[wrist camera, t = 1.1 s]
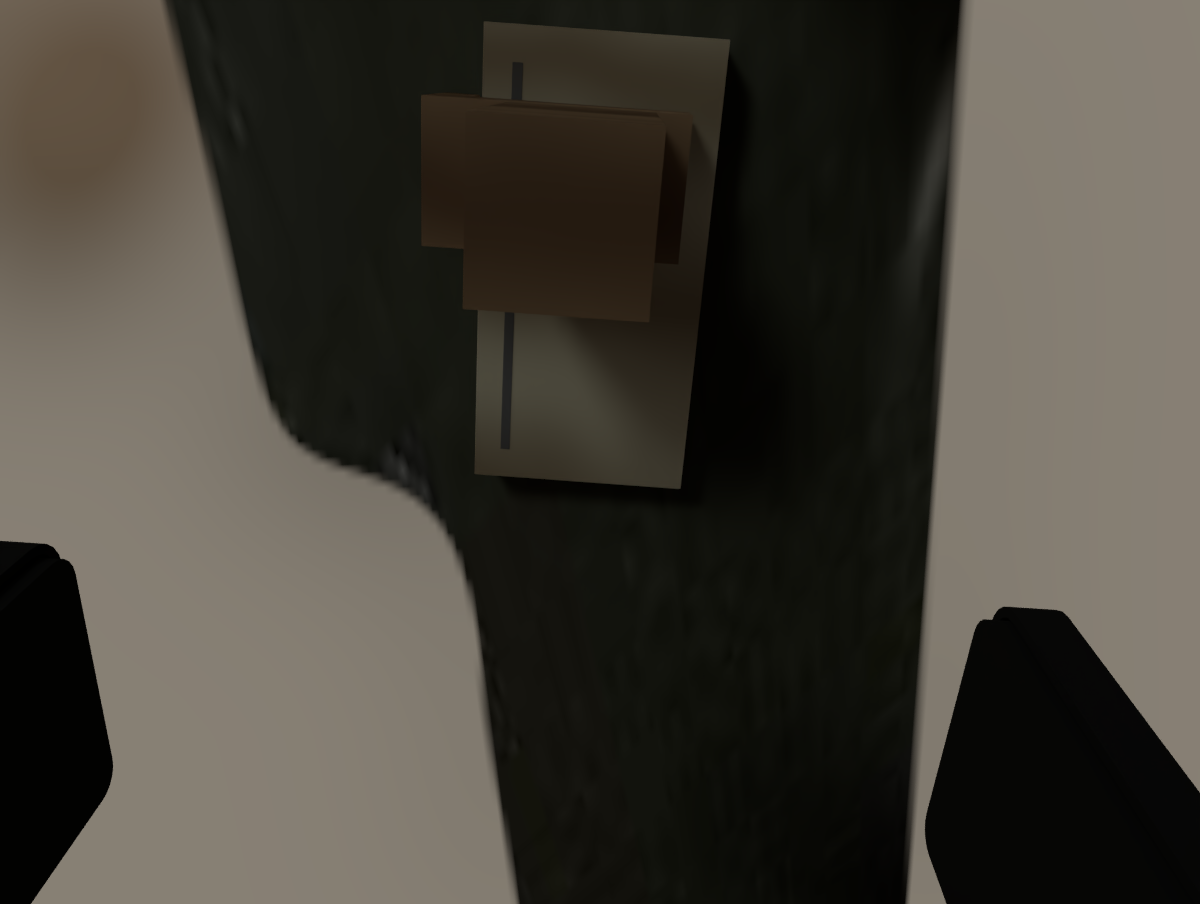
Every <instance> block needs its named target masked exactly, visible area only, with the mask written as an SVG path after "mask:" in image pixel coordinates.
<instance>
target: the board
mask: <svg viewBox="0 0 1200 904" xmlns="http://www.w3.org/2000/svg"><path fill="white" fill-rule="evenodd" d="M729 46H730V40H726V39H713V38H700V37H686V36H673V35H659V34H646V33H632V32H619V31H605V30H592V29H578V28H565V27H552V26H538V25H525V24H511V23H498V22H484V41H483V90H482V97H486V98H500V99H513V100H527V101H540V102H554V103H567V104H581V105H594V106H608V107H621V108H635V109H648V110H662V111H675V112H689V113H690V114H692V115H693V122H692V132H691V142H690V152H689V162H688V172H687V182H686V192H685V202H684V212H683V222H682V232H681V242H680V252H679V262H678V265H677V264H663V263H654V271H653V282H652V293H651V304H650V315H649V323H648V322H634V321H620V320H607V319H593V318H580V317H566V316H552V315H539V314H525V313H512V312H498V311H485V310H478V336H477V385H476V434H475V474H482V475H495V476H509V477H523V478H536V479H550V480H564V481H577V482H591V483H605V484H618V485H632V486H646V487H659V488H673V489H680V488H681V479H682V470H683V461H684V452H685V443H686V434H687V425H688V416H689V407H690V398H691V389H692V380H693V371H694V362H695V353H696V344H697V335H698V326H699V317H700V308H701V299H702V290H703V281H704V272H705V263H706V254H707V245H708V235H709V226H710V217H711V208H712V199H713V190H714V181H715V172H716V163H717V154H718V145H719V136H720V127H721V118H722V109H723V100H724V91H725V82H726V73H727V64H728V55H729Z"/></svg>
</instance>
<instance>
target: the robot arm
mask: <svg viewBox="0 0 1200 904" xmlns="http://www.w3.org/2000/svg"><path fill="white" fill-rule="evenodd" d="M112 772H113V761H112V754H111V749H110V745H109V739H108V735H107V729H106V724H105V720H104V715H103V709H102V704H101V699H100V695H99V689H98V684H97V679H96V674H95V669H94V664H93V659H92V655H91V649H90V645H89V639H88V634H87V629H86V624H85V619H84V614H83V609H82V604H81V599H80V594H79V589H78V584H77V579H76V574H75V571H74V568H73V566H72V565H71V563H70V562H69V561H67V560H65V559H60V557H59V554H58V553H57V552H56V550H55V549H54V548H53V547H52V546H49V545H48V544H38V543H24V542H8V541H0V904H31V903H32V901H33V900H34V899H35V897H36V896H37V894H38V893H39V891H40V890H41V888H42V887H43V885H44V884H45V883H46V881H47V880H48V878H49V877H50V875H51V874H52V872H53V871H54V870H55V868H56V867H57V865H58V864H59V862H60V861H61V860H62V858H63V857H64V855H65V854H66V852H67V851H68V849H69V848H70V847H71V845H72V844H73V842H74V841H75V839H76V838H77V836H78V835H79V834H80V832H81V831H82V829H83V828H84V826H85V825H86V823H87V822H88V821H89V819H90V818H91V816H92V815H93V813H94V812H95V810H96V809H97V808H98V806H99V805H100V803H101V802H102V800H103V798H104V797H105V795H106V793H107V791H108V788H109V786H110V782H111V778H112ZM925 837H926V845H927V850H928V853H929V856H930V859H931V862H932V865H933V867H934V870H935V873H936V876H937V878H938V881H939V884H940V887H941V889H942V892H943V895H944V898H945V900H946V903H947V904H1200V793H1199V791H1198V790H1197V788H1196V787H1195V786H1194V784H1193V783H1192V782H1191V780H1190V779H1189V778H1188V777H1187V775H1186V774H1185V772H1184V771H1183V770H1182V768H1181V767H1180V766H1179V764H1178V763H1177V762H1176V761H1175V759H1174V758H1173V756H1172V755H1171V754H1170V752H1169V751H1168V750H1167V749H1166V747H1165V746H1164V745H1163V743H1162V742H1161V740H1160V739H1159V738H1158V736H1157V735H1156V734H1155V732H1154V731H1153V730H1152V728H1151V727H1150V726H1149V725H1148V723H1147V722H1146V720H1145V719H1144V718H1143V716H1142V715H1141V714H1140V712H1139V711H1138V710H1137V708H1136V707H1135V706H1134V704H1133V703H1132V702H1131V700H1130V699H1129V698H1128V696H1127V695H1126V694H1125V692H1124V691H1123V690H1122V688H1121V687H1120V686H1119V684H1118V683H1117V682H1116V681H1115V679H1114V678H1113V676H1112V675H1111V674H1110V672H1109V671H1108V670H1107V668H1106V667H1105V666H1104V664H1103V663H1102V662H1101V660H1100V659H1099V658H1098V656H1097V655H1096V654H1095V652H1094V651H1093V650H1092V648H1091V647H1090V646H1089V644H1088V643H1087V642H1086V640H1085V639H1084V638H1083V636H1082V635H1081V634H1080V632H1079V631H1078V630H1077V628H1076V627H1075V626H1074V624H1073V623H1072V621H1071V620H1070V619H1069V618H1068V616H1066V615H1065V614H1064V613H1063V612H1062V611H1057V610H1048V609H1033V608H1017V607H1002V608H1000V609H999V610H998V611H997V612H996V614H995V615H994V617H993V620H982V621H980V622H979V623H978V625H977V627H976V629H975V632H974V635H973V639H972V643H971V646H970V650H969V654H968V658H967V662H966V665H965V669H964V673H963V677H962V681H961V685H960V688H959V693H958V696H957V700H956V704H955V707H954V711H953V715H952V719H951V723H950V726H949V730H948V734H947V738H946V742H945V745H944V749H943V753H942V757H941V761H940V765H939V768H938V772H937V776H936V780H935V784H934V787H933V791H932V795H931V799H930V803H929V806H928V810H927V815H926V820H925Z"/></svg>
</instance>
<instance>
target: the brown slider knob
mask: <svg viewBox="0 0 1200 904" xmlns="http://www.w3.org/2000/svg"><path fill="white" fill-rule="evenodd" d="M479 96H480V95H474V94H460V93H437V94H428V95H421V208H422V246H433V247H446V248H460V249H464V260H463V309H471V310H485V311H498V312H512V313H525V314H539V315H552V316H566V317H580V318H593V319H607V320H620V321H634V322H648V323H649V315H650V304H651V293H652V282H653V271H654V263H663V264H677V265H678V262H679V252H680V242H681V232H682V222H683V212H684V202H685V192H686V182H687V172H688V162H689V152H690V142H691V132H692V122H693V115H692V114H690V113H689V112H675V111H662V110H648V109H635V108H621V107H608V106H594V105H581V104H567V103H554V102H540V101H527V100H513V99H500V98H486V97H479Z"/></svg>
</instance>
